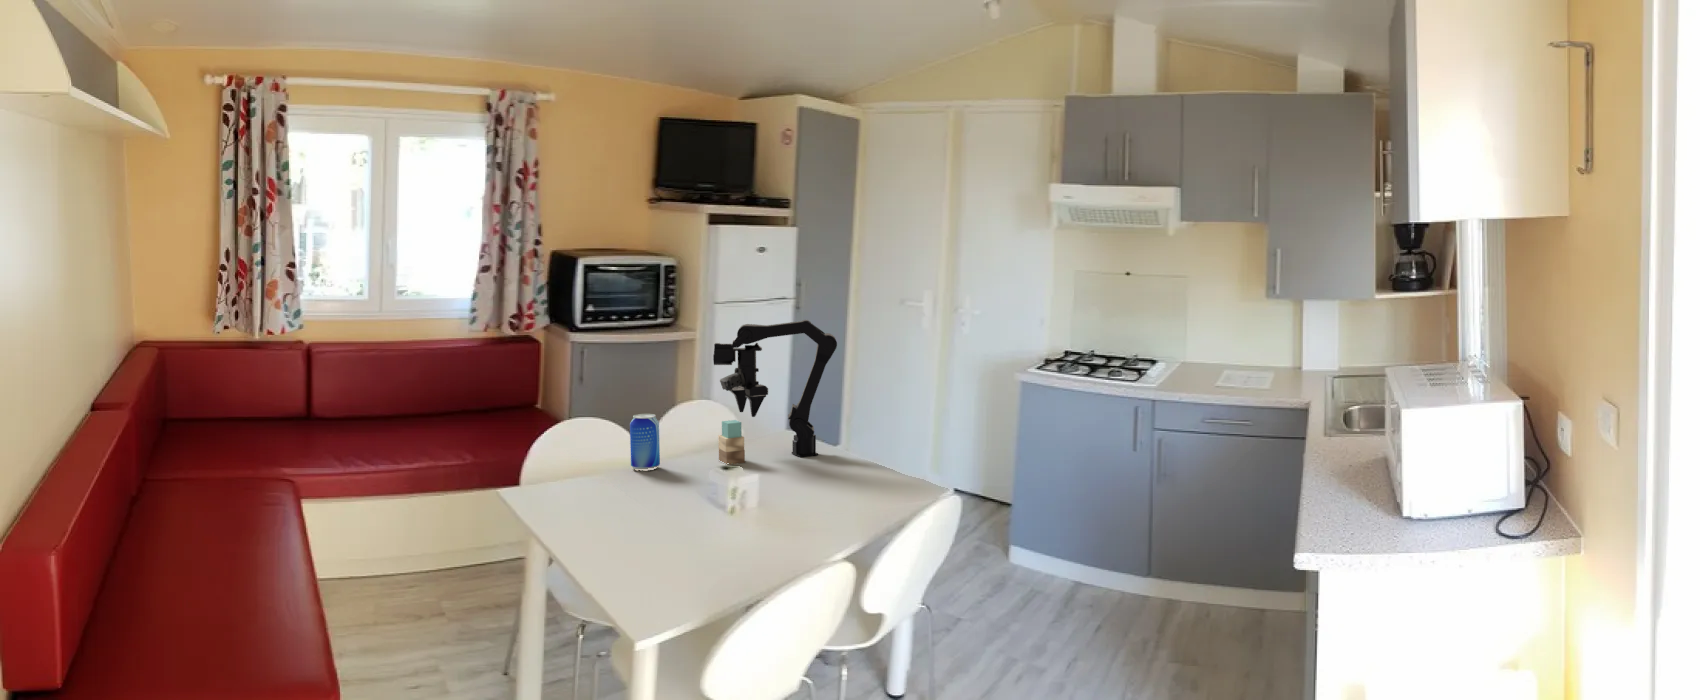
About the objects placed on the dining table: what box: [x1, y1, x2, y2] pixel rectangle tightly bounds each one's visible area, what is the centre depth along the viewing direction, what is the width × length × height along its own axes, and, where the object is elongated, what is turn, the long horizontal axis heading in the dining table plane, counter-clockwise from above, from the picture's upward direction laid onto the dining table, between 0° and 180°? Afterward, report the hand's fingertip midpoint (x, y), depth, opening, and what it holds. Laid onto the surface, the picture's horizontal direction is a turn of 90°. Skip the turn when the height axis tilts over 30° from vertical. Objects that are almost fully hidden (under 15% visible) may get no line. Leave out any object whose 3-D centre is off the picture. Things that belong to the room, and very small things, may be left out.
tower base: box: [718, 448, 746, 465], centre depth 313 cm, size 6×6×4 cm
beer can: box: [629, 413, 661, 470], centre depth 303 cm, size 8×8×16 cm
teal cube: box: [721, 419, 743, 438], centre depth 312 cm, size 4×4×4 cm
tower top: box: [717, 434, 745, 452], centre depth 312 cm, size 6×6×4 cm
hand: (747, 414), depth 321 cm, fingers open, 9 cm apart
